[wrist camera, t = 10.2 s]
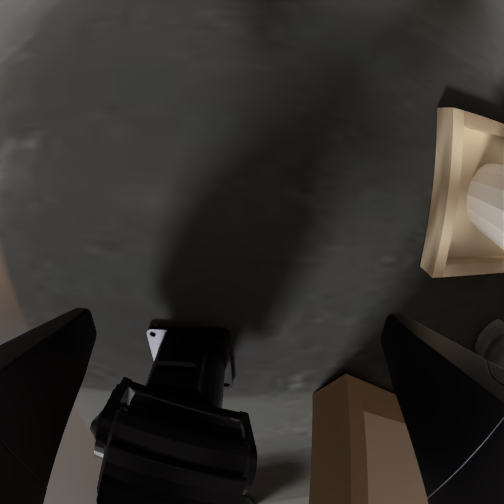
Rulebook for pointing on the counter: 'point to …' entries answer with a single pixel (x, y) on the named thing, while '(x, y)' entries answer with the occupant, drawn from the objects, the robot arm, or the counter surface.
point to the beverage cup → (492, 343)
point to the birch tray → (460, 196)
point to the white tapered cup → (488, 201)
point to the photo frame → (361, 447)
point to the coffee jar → (245, 500)
